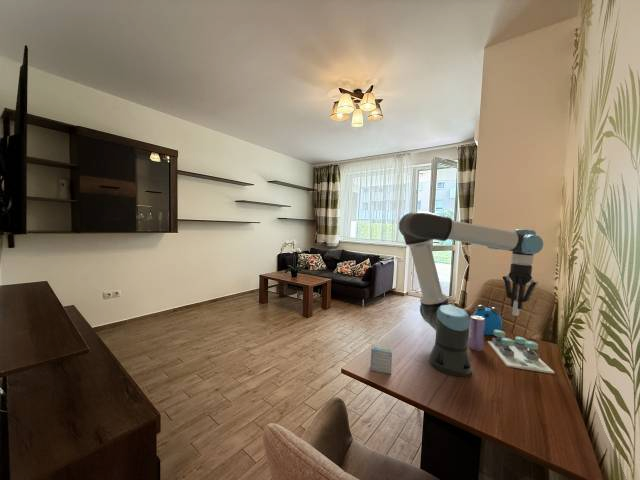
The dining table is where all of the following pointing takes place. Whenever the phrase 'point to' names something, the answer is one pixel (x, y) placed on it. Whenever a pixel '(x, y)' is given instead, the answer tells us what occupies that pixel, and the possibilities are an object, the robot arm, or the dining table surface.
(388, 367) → the medicine box
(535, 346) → the button
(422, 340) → the dining table surface
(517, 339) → the button
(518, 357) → the board
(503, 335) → the button
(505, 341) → the button
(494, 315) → the alarm clock
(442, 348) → the robot arm
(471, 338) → the beverage can
